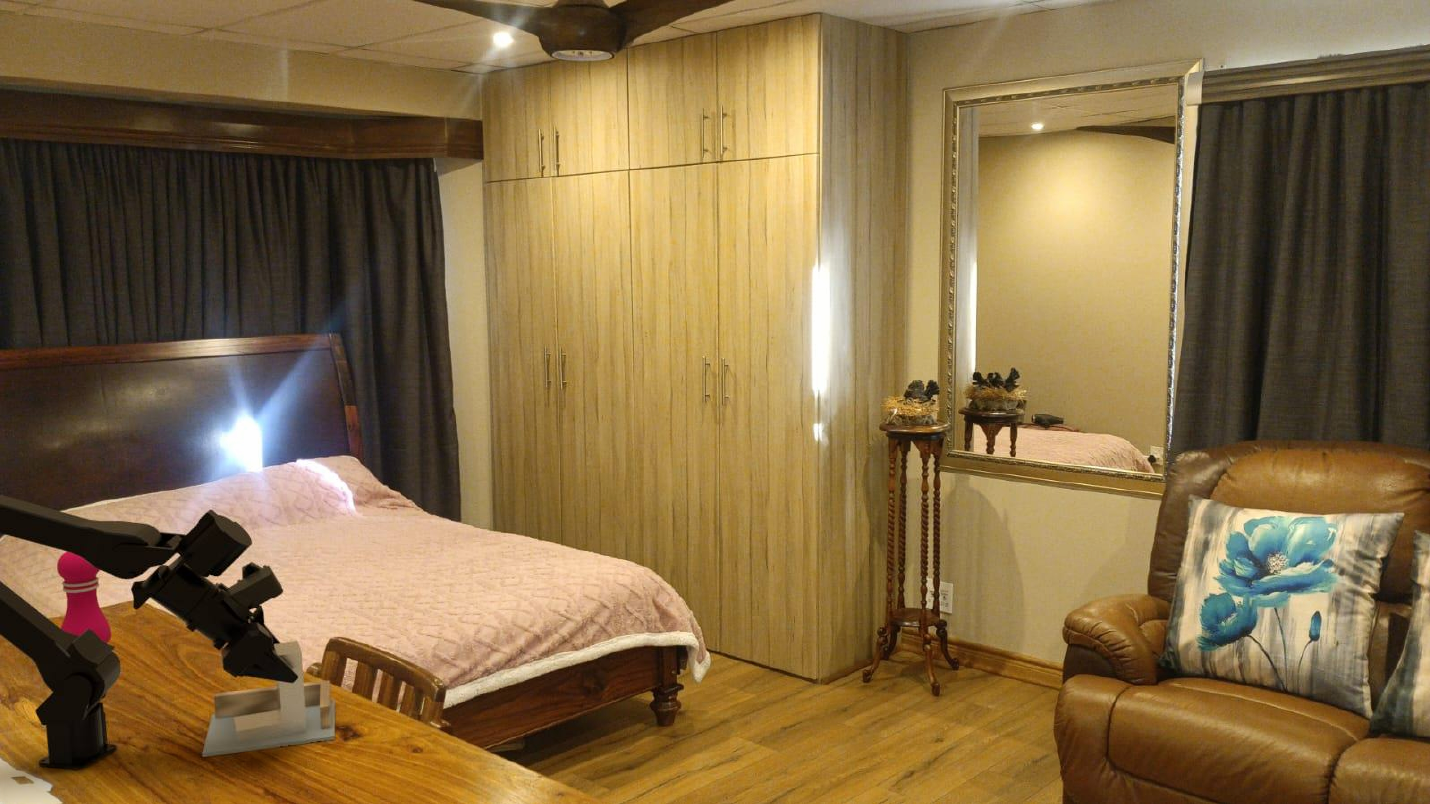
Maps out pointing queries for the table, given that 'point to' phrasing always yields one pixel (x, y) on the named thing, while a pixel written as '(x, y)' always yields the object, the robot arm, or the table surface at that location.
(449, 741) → the table surface
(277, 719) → the bracket
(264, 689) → the board walls
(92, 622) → the pepper mill
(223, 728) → the slate board
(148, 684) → the table surface
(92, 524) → the robot arm
